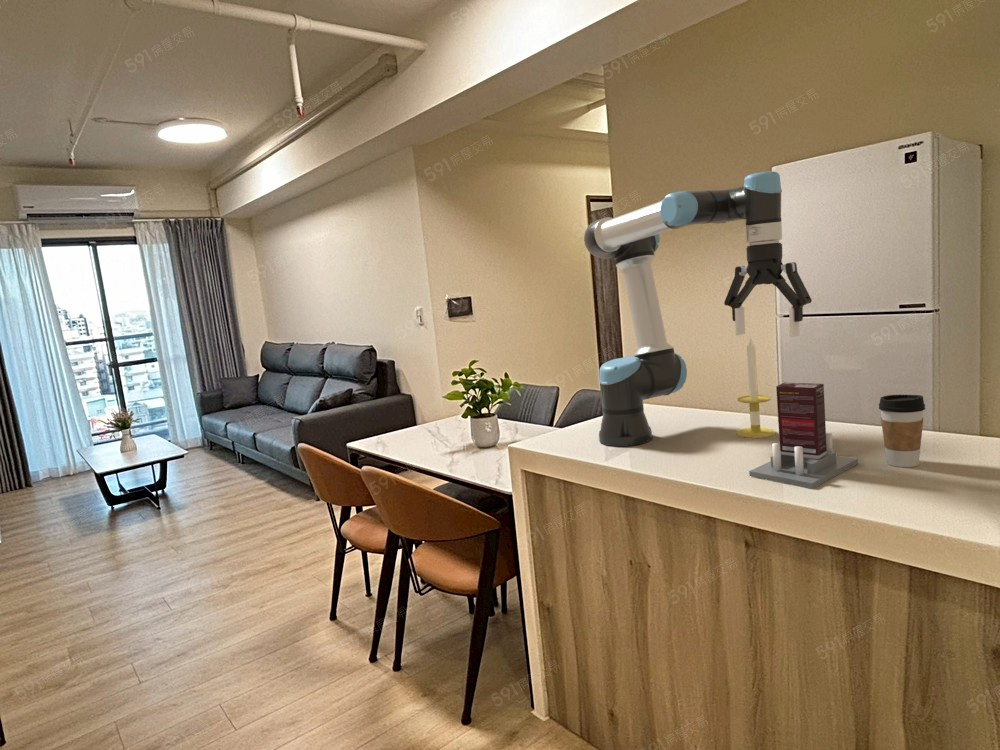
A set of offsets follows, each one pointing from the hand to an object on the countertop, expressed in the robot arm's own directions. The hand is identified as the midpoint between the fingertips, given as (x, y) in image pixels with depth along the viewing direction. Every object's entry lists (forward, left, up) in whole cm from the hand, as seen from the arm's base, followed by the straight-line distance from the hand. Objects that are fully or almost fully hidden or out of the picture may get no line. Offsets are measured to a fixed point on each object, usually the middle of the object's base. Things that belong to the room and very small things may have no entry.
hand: (766, 335), depth 143 cm
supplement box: (+10, -5, -26) cm, 29 cm away
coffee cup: (+24, +10, -30) cm, 40 cm away
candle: (-15, +17, -30) cm, 37 cm away
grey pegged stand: (+10, -5, -30) cm, 32 cm away
